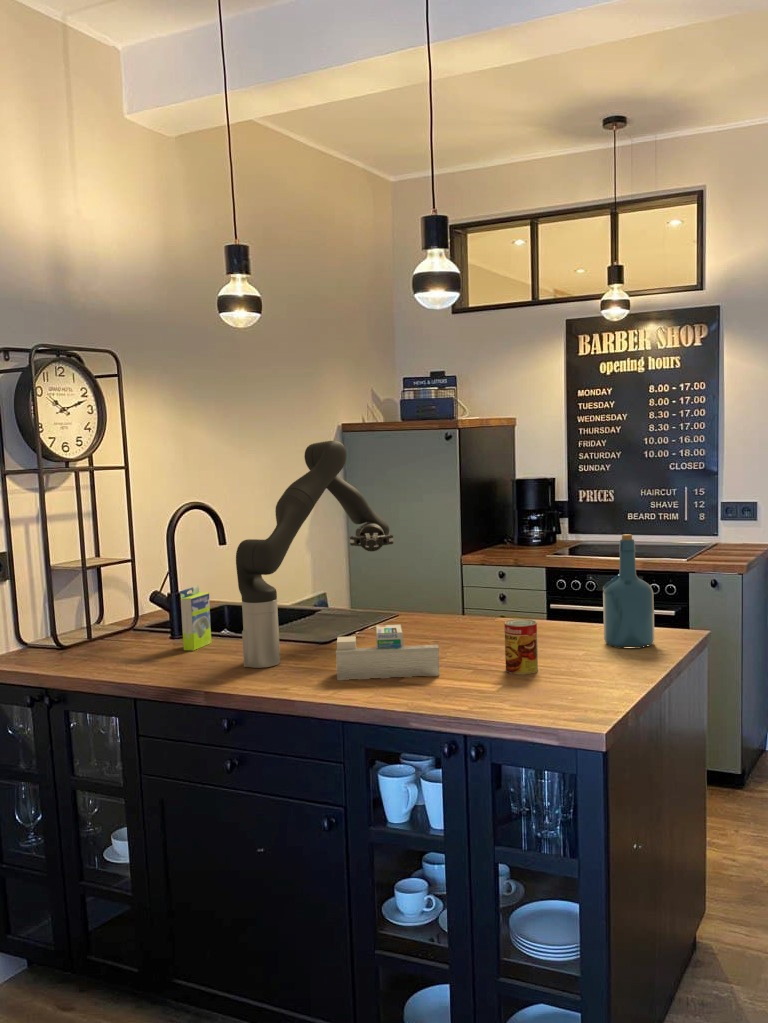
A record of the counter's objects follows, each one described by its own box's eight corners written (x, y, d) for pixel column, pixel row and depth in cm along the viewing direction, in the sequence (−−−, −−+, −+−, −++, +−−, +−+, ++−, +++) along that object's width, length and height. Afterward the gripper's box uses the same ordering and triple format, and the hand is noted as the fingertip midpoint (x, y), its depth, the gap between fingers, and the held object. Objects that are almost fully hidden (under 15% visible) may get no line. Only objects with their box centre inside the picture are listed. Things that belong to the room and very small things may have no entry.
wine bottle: (663, 642, 247) (661, 533, 245) (639, 652, 237) (637, 538, 235) (618, 636, 256) (615, 531, 254) (593, 645, 247) (591, 536, 244)
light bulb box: (405, 675, 223) (403, 632, 223) (378, 676, 223) (376, 633, 223) (403, 664, 234) (401, 623, 233) (377, 665, 234) (375, 624, 233)
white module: (338, 678, 223) (336, 642, 222) (339, 671, 229) (337, 636, 229) (357, 677, 223) (355, 641, 222) (357, 670, 229) (355, 635, 229)
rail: (337, 681, 220) (335, 652, 219) (338, 672, 229) (337, 643, 228) (439, 677, 220) (438, 647, 219) (437, 667, 229) (436, 639, 229)
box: (194, 651, 260) (190, 591, 258) (181, 650, 261) (178, 591, 260) (212, 643, 270) (209, 585, 268) (200, 642, 271) (197, 585, 270)
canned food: (500, 668, 226) (498, 621, 225) (527, 664, 229) (526, 618, 228) (515, 676, 218) (514, 626, 218) (544, 671, 221) (542, 623, 220)
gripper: (348, 525, 266) (346, 530, 249) (393, 523, 266) (394, 529, 249) (349, 550, 267) (347, 557, 250) (394, 549, 267) (395, 556, 250)
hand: (371, 543), depth 249 cm, fingers closed
